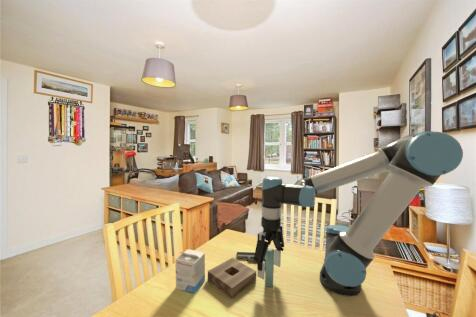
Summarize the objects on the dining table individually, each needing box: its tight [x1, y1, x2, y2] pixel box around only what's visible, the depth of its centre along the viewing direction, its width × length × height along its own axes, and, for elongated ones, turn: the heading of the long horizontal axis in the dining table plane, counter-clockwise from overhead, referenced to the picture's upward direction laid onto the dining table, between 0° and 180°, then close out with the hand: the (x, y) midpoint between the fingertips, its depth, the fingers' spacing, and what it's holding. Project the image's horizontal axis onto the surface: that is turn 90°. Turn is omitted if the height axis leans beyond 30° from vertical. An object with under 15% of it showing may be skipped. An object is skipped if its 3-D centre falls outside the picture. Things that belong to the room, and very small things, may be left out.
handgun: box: [235, 251, 266, 267], centre depth 97 cm, size 2×17×12 cm
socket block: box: [207, 257, 257, 299], centre depth 83 cm, size 14×14×4 cm
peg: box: [264, 247, 275, 288], centre depth 81 cm, size 3×3×14 cm
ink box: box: [174, 248, 206, 294], centre depth 80 cm, size 9×8×13 cm
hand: (269, 271), depth 81 cm, fingers open, 10 cm apart
